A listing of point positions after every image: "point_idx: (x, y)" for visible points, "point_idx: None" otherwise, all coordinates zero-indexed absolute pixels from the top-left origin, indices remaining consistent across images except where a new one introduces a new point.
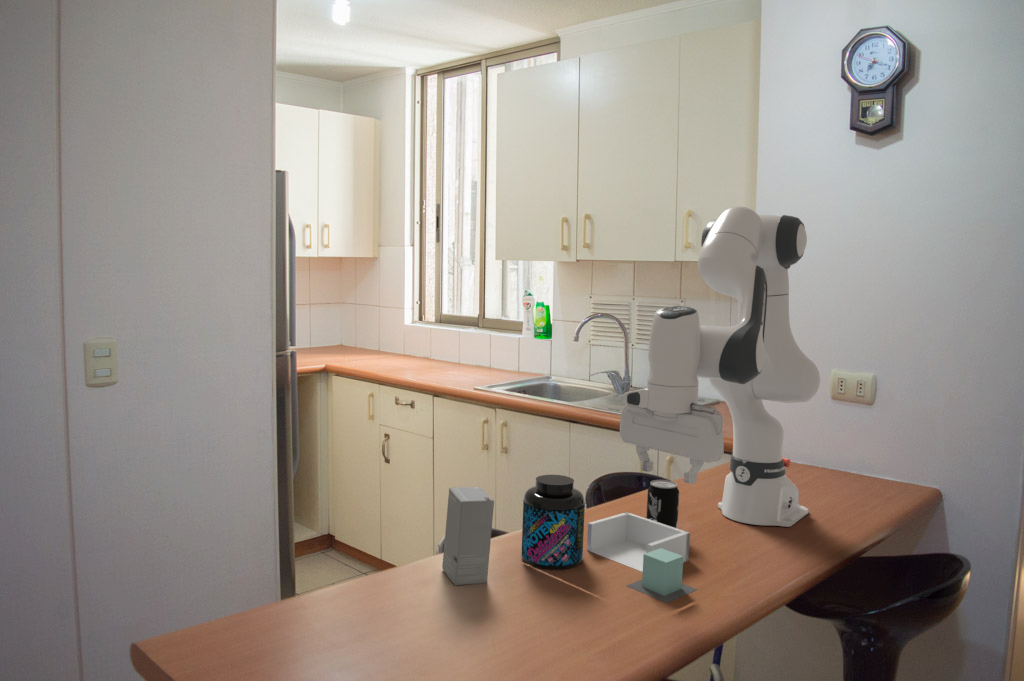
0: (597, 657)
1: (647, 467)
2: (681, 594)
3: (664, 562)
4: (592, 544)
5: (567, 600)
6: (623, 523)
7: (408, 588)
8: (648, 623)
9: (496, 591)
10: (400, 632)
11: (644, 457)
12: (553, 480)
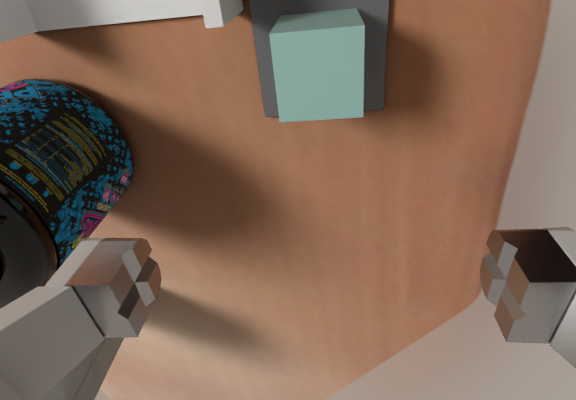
0: (417, 306)
1: (143, 296)
2: (379, 41)
3: (356, 116)
4: (22, 28)
5: (254, 234)
6: None
7: (124, 344)
8: (407, 194)
9: (175, 285)
10: (232, 388)
11: (62, 346)
12: None
